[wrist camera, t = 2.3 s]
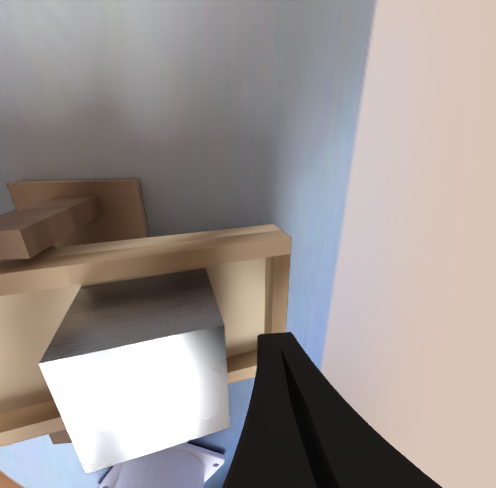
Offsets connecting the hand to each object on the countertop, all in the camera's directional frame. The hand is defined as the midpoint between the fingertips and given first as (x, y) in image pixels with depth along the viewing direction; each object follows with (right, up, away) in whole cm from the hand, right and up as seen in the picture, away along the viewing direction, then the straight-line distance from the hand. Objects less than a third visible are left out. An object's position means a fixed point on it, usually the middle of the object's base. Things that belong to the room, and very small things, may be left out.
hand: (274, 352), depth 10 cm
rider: (-5, +1, +2) cm, 6 cm away
